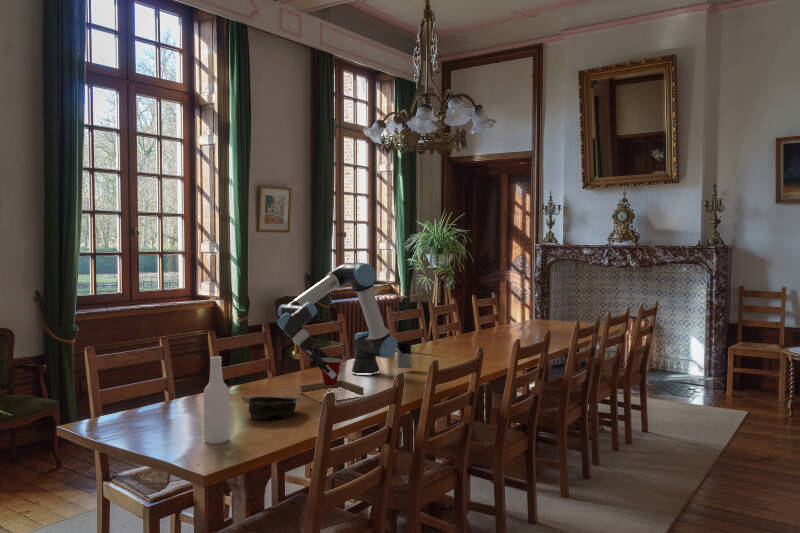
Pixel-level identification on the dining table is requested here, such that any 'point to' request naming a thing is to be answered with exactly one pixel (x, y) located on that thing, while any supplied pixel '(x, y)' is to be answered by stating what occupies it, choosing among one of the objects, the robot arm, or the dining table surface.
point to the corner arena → (339, 383)
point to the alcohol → (216, 405)
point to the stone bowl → (271, 406)
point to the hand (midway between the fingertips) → (337, 374)
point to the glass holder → (405, 355)
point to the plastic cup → (334, 365)
